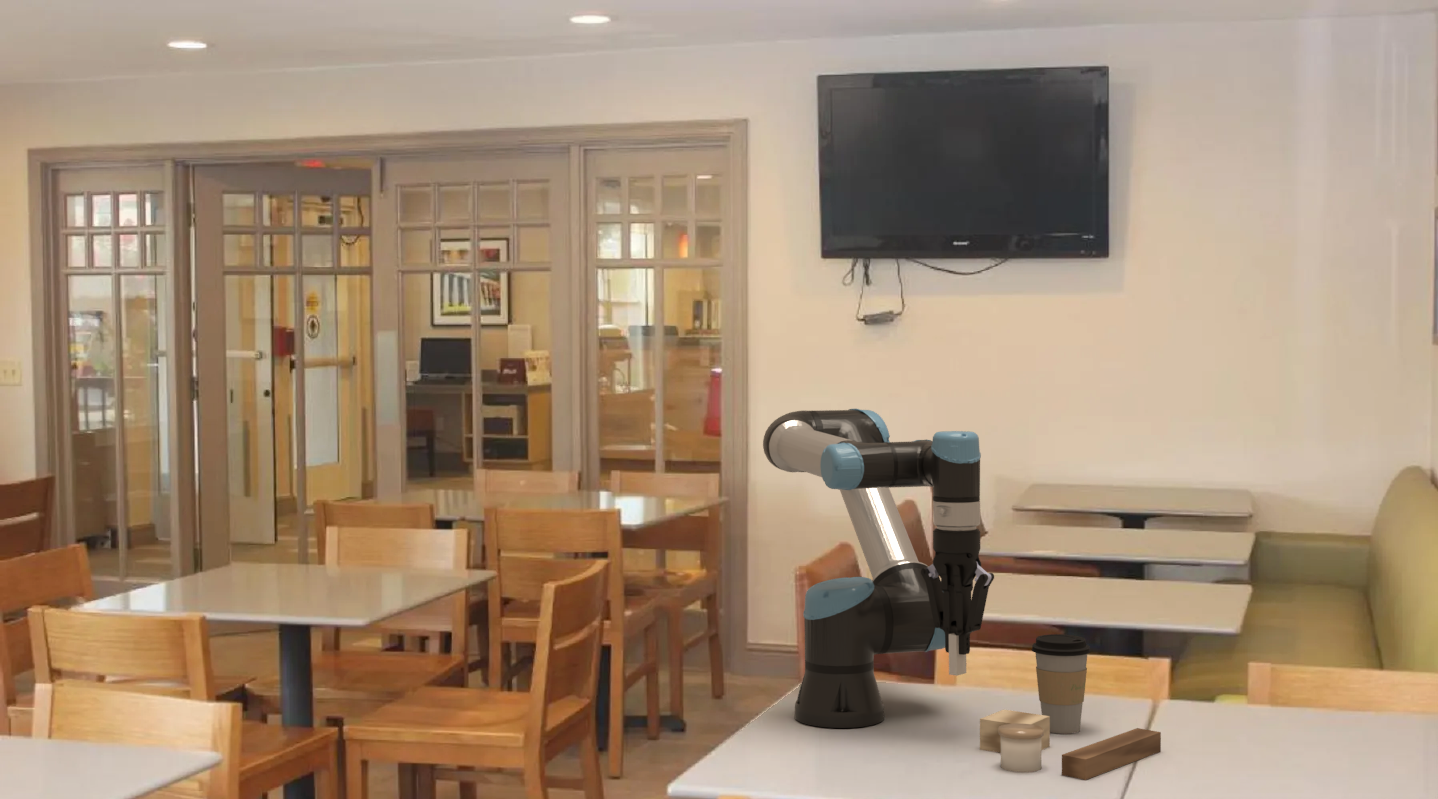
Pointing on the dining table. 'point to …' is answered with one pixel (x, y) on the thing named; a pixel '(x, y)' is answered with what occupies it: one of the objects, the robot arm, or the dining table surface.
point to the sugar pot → (1021, 747)
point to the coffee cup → (1061, 679)
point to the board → (1110, 753)
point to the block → (992, 722)
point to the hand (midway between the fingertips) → (957, 673)
